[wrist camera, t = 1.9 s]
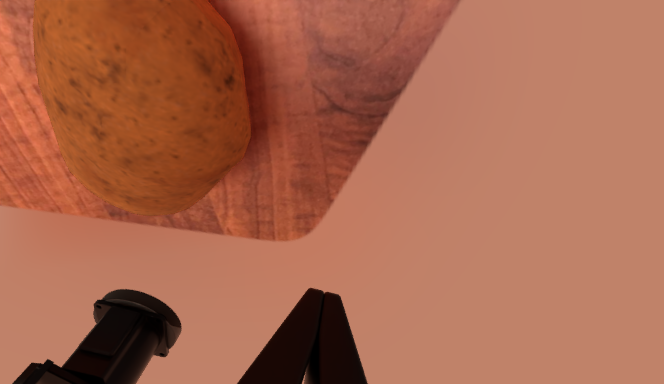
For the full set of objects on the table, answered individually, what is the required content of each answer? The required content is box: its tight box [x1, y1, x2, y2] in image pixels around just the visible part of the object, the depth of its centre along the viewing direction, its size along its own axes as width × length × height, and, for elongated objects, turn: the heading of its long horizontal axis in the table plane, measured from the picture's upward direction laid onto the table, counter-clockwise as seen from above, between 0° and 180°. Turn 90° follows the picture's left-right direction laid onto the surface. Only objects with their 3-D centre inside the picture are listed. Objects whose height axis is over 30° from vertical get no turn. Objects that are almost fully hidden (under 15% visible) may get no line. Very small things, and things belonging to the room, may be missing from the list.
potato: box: [33, 0, 251, 216], centre depth 16 cm, size 9×11×8 cm
